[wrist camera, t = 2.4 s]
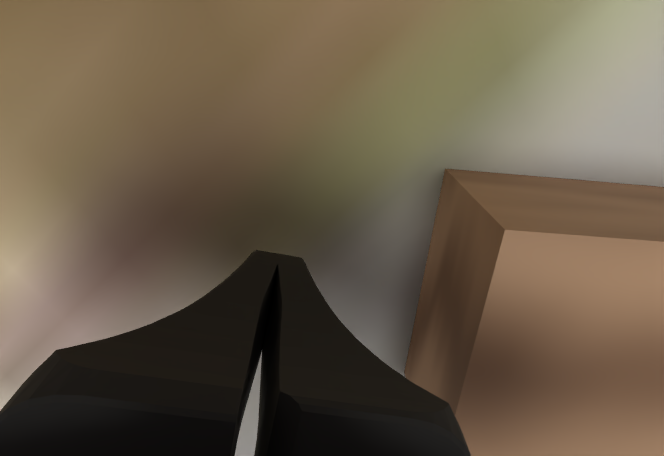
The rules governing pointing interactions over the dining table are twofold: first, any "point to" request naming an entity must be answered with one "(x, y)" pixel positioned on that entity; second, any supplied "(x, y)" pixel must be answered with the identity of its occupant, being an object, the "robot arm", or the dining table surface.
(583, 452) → the walnut block
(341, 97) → the dining table surface
